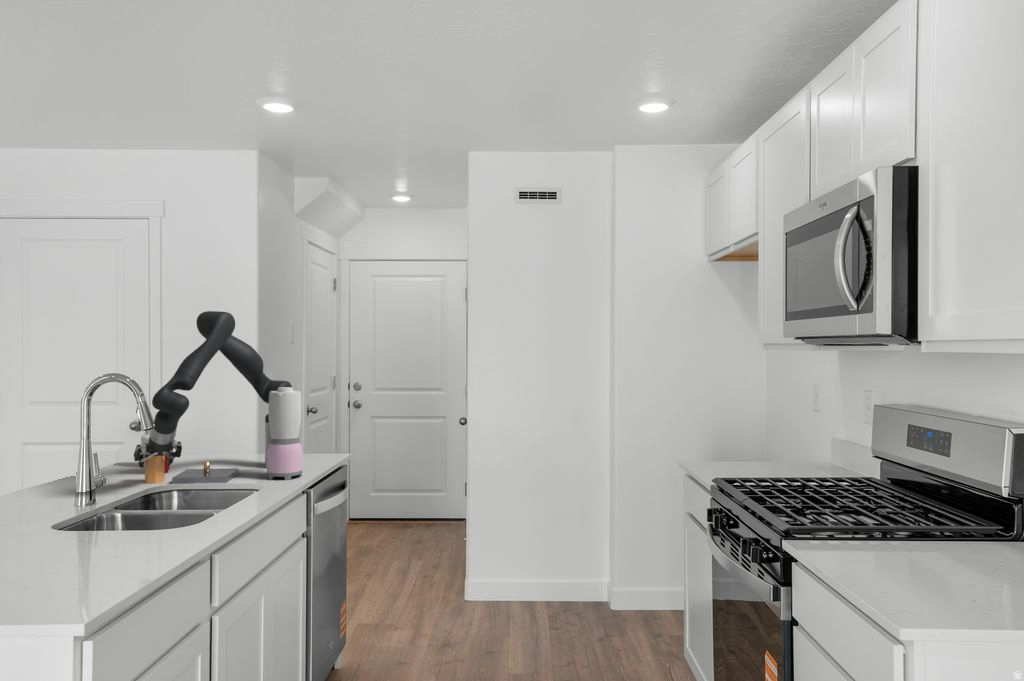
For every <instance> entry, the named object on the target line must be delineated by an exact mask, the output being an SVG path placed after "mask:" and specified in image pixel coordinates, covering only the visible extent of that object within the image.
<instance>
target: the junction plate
mask: <svg viewBox="0 0 1024 681" xmlns="http://www.w3.org/2000/svg"><path fill="white" fill-rule="evenodd" d="M239 474H240V468H236V467H235V468H234V467H233V468H211V462H210V461H209V460H206V461H203V468H187V469H185V470H183V471H182V472H180V473H178V474H176V475H174V476H173V477H171V484H174V485H176V484H216V483H217V484H222V483H223V484H225V483H229V482H231V480H232V479H234V478H235V477H237V476H238V475H239Z"/></svg>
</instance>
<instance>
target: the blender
mask: <svg viewBox="0 0 1024 681" xmlns="http://www.w3.org/2000/svg"><path fill="white" fill-rule="evenodd" d="M302 404H303V403H302V392H301V391H300V390H294V387H293V386H292V387H281V388H278V391H271V392H270V393H269V404H268V414H269V427H270V432H271V442H270V444H269V446H268V450H267V467H266V475H267V478H268V480H271V481H272V480H274V477H275V478H276V477H277V478H279V477H280V478H282V477H283V478H284V480H285V481H290V480H291V479H292V477H294V476H302V474H303V446H302V443H301V442H300V437H299V436H300V431H301V424H302V410H303V408H302Z"/></svg>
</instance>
